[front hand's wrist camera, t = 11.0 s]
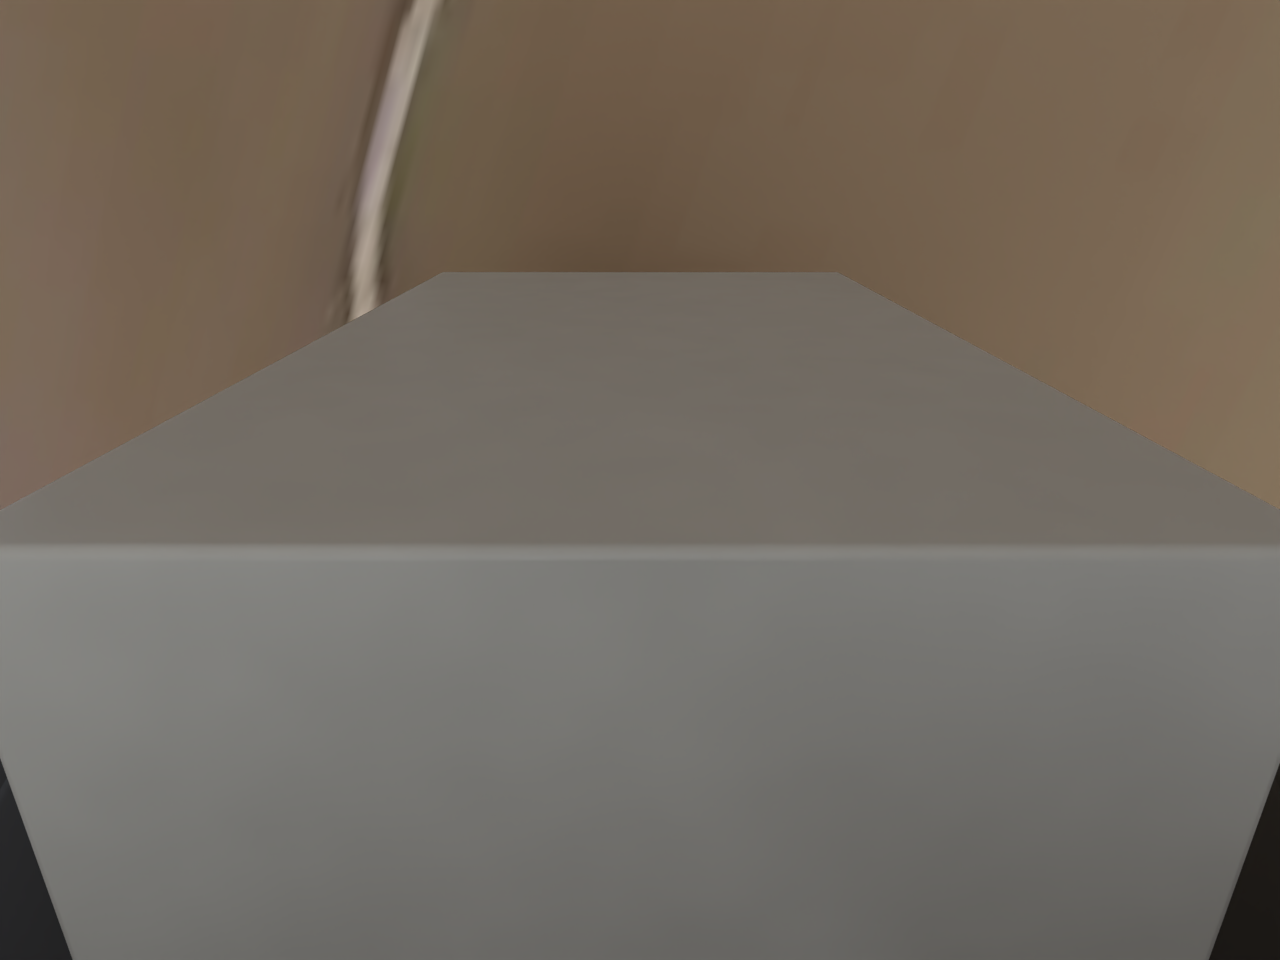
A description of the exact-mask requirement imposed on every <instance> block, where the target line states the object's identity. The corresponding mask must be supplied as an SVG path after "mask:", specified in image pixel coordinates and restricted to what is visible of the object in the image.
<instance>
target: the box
mask: <svg viewBox="0 0 1280 960" xmlns="http://www.w3.org/2000/svg"><path fill="white" fill-rule="evenodd" d="M0 759H1V762H2V765H3V767H4V770H5V773H6V776H7V779H8V781H9V784H10V787H11V790H12V792H13V795H14V798H15V801H16V804H17V806H18V809H19V812H20V815H21V817H22V820H23V823H24V826H25V829H26V831H27V834H28V837H29V840H30V842H31V845H32V848H33V851H34V854H35V856H36V859H37V862H38V865H39V868H40V870H41V873H42V876H43V879H44V881H45V884H46V887H47V890H48V893H49V895H50V898H51V901H52V904H53V906H54V909H55V912H56V915H57V918H58V920H59V923H60V926H61V929H62V931H63V934H64V937H65V940H66V943H67V945H68V948H69V951H70V954H71V956H72V959H73V960H1209V958H1210V955H1211V952H1212V949H1213V947H1214V944H1215V941H1216V938H1217V935H1218V933H1219V930H1220V927H1221V924H1222V922H1223V919H1224V916H1225V913H1226V911H1227V908H1228V905H1229V902H1230V899H1231V897H1232V894H1233V891H1234V888H1235V886H1236V883H1237V880H1238V877H1239V875H1240V872H1241V869H1242V866H1243V863H1244V861H1245V858H1246V855H1247V852H1248V850H1249V847H1250V844H1251V841H1252V839H1253V836H1254V833H1255V830H1256V827H1257V825H1258V822H1259V819H1260V816H1261V814H1262V811H1263V808H1264V805H1265V803H1266V800H1267V797H1268V794H1269V792H1270V789H1271V786H1272V783H1273V780H1274V778H1275V775H1276V772H1277V769H1278V767H1279V764H1280V509H1278V508H1276V507H1274V506H1272V505H1270V504H1268V503H1267V502H1265V501H1263V500H1261V499H1259V498H1257V497H1255V496H1254V495H1252V494H1250V493H1248V492H1246V491H1244V490H1242V489H1240V488H1239V487H1237V486H1235V485H1233V484H1231V483H1229V482H1227V481H1226V480H1224V479H1222V478H1220V477H1218V476H1216V475H1214V474H1213V473H1211V472H1209V471H1207V470H1205V469H1203V468H1201V467H1200V466H1198V465H1196V464H1194V463H1192V462H1190V461H1188V460H1187V459H1185V458H1183V457H1181V456H1179V455H1177V454H1175V453H1173V452H1172V451H1170V450H1168V449H1166V448H1164V447H1162V446H1160V445H1159V444H1157V443H1155V442H1153V441H1151V440H1149V439H1147V438H1146V437H1144V436H1142V435H1140V434H1138V433H1136V432H1134V431H1133V430H1131V429H1129V428H1127V427H1125V426H1123V425H1121V424H1119V423H1118V422H1116V421H1114V420H1112V419H1110V418H1108V417H1106V416H1105V415H1103V414H1101V413H1099V412H1097V411H1095V410H1093V409H1092V408H1090V407H1088V406H1086V405H1084V404H1082V403H1080V402H1079V401H1077V400H1075V399H1073V398H1071V397H1069V396H1067V395H1066V394H1064V393H1062V392H1060V391H1058V390H1056V389H1054V388H1052V387H1051V386H1049V385H1047V384H1045V383H1043V382H1041V381H1039V380H1038V379H1036V378H1034V377H1032V376H1030V375H1028V374H1026V373H1025V372H1023V371H1021V370H1019V369H1017V368H1015V367H1013V366H1012V365H1010V364H1008V363H1006V362H1004V361H1002V360H1000V359H998V358H997V357H995V356H993V355H991V354H989V353H987V352H985V351H984V350H982V349H980V348H978V347H976V346H974V345H972V344H971V343H969V342H967V341H965V340H963V339H961V338H959V337H958V336H956V335H954V334H952V333H950V332H948V331H946V330H944V329H943V328H941V327H939V326H937V325H935V324H933V323H931V322H930V321H928V320H926V319H924V318H922V317H920V316H918V315H917V314H915V313H913V312H911V311H909V310H907V309H905V308H904V307H902V306H900V305H898V304H896V303H894V302H892V301H891V300H889V299H887V298H885V297H883V296H881V295H879V294H877V293H876V292H874V291H872V290H870V289H868V288H866V287H864V286H863V285H861V284H859V283H857V282H855V281H853V280H851V279H850V278H848V277H846V276H844V275H842V274H840V273H838V272H442V273H440V274H438V275H436V276H435V277H433V278H431V279H429V280H427V281H425V282H423V283H422V284H420V285H418V286H416V287H414V288H412V289H410V290H409V291H407V292H405V293H403V294H401V295H399V296H397V297H396V298H394V299H392V300H390V301H388V302H386V303H384V304H383V305H381V306H379V307H377V308H375V309H373V310H371V311H370V312H368V313H366V314H364V315H362V316H360V317H358V318H357V319H355V320H353V321H351V322H349V323H347V324H345V325H344V326H342V327H340V328H338V329H336V330H334V331H332V332H331V333H329V334H327V335H325V336H323V337H321V338H319V339H318V340H316V341H314V342H312V343H310V344H308V345H306V346H305V347H303V348H301V349H299V350H297V351H295V352H293V353H292V354H290V355H288V356H286V357H284V358H282V359H280V360H279V361H277V362H275V363H273V364H271V365H269V366H267V367H266V368H264V369H262V370H260V371H258V372H256V373H254V374H253V375H251V376H249V377H247V378H245V379H243V380H241V381H240V382H238V383H236V384H234V385H232V386H230V387H228V388H226V389H225V390H223V391H221V392H219V393H217V394H215V395H213V396H212V397H210V398H208V399H206V400H204V401H202V402H200V403H199V404H197V405H195V406H193V407H191V408H189V409H187V410H186V411H184V412H182V413H180V414H178V415H176V416H174V417H173V418H171V419H169V420H167V421H165V422H163V423H161V424H160V425H158V426H156V427H154V428H152V429H150V430H148V431H147V432H145V433H143V434H141V435H139V436H137V437H135V438H134V439H132V440H130V441H128V442H126V443H124V444H122V445H121V446H119V447H117V448H115V449H113V450H111V451H109V452H108V453H106V454H104V455H102V456H100V457H98V458H96V459H95V460H93V461H91V462H89V463H87V464H85V465H83V466H82V467H80V468H78V469H76V470H74V471H72V472H70V473H69V474H67V475H65V476H63V477H61V478H59V479H57V480H56V481H54V482H52V483H50V484H48V485H46V486H44V487H43V488H41V489H39V490H37V491H35V492H33V493H31V494H30V495H28V496H26V497H24V498H22V499H20V500H18V501H17V502H15V503H13V504H11V505H9V506H7V507H5V508H4V509H2V510H0Z"/></svg>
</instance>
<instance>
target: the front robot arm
mask: <svg viewBox="0 0 1280 960" xmlns="http://www.w3.org/2000/svg"><path fill="white" fill-rule="evenodd" d="M0 960H73V959H72V956H71V954H70V951H69V948H68V945H67V943H66V940H65V937H64V934H63V931H62V929H61V926H60V923H59V920H58V918H57V915H56V912H55V909H54V906H53V904H52V901H51V898H50V895H49V893H48V890H47V887H46V884H45V881H44V879H43V876H42V873H41V870H40V868H39V865H38V862H37V859H36V856H35V854H34V851H33V848H32V845H31V842H30V840H29V837H28V834H27V831H26V829H25V826H24V823H23V820H22V817H21V815H20V812H19V809H18V806H17V804H16V801H15V798H14V795H13V792H12V790H11V787H10V784H9V781H8V779H7V776H6V773H5V770H4V767H3V765H2V762H1V759H0ZM1209 960H1280V764H1279V767H1278V769H1277V772H1276V775H1275V778H1274V780H1273V783H1272V786H1271V789H1270V792H1269V794H1268V797H1267V800H1266V803H1265V805H1264V808H1263V811H1262V814H1261V816H1260V819H1259V822H1258V825H1257V827H1256V830H1255V833H1254V836H1253V839H1252V841H1251V844H1250V847H1249V850H1248V852H1247V855H1246V858H1245V861H1244V863H1243V866H1242V869H1241V872H1240V875H1239V877H1238V880H1237V883H1236V886H1235V888H1234V891H1233V894H1232V897H1231V899H1230V902H1229V905H1228V908H1227V911H1226V913H1225V916H1224V919H1223V922H1222V924H1221V927H1220V930H1219V933H1218V935H1217V938H1216V941H1215V944H1214V947H1213V949H1212V952H1211V955H1210V958H1209Z"/></svg>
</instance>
